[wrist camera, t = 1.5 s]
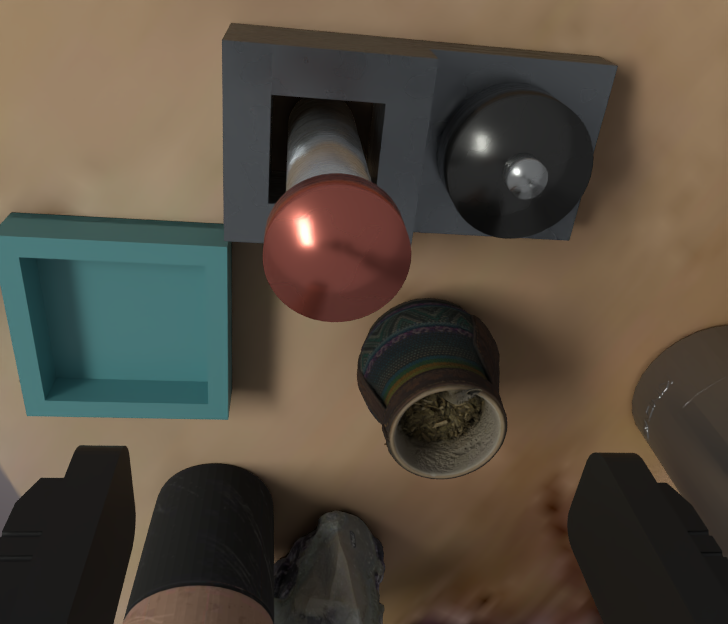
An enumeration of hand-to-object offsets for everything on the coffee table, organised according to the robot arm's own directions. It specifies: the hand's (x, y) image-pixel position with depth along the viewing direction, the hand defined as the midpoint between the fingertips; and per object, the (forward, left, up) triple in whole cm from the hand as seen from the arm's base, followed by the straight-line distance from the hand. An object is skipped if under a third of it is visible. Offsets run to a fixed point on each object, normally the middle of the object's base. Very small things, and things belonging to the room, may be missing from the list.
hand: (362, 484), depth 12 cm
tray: (+9, +10, -22) cm, 26 cm away
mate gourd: (-6, +11, -22) cm, 25 cm away
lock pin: (0, 0, -22) cm, 22 cm away
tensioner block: (-4, 0, -22) cm, 22 cm away
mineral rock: (0, +30, -22) cm, 37 cm away
